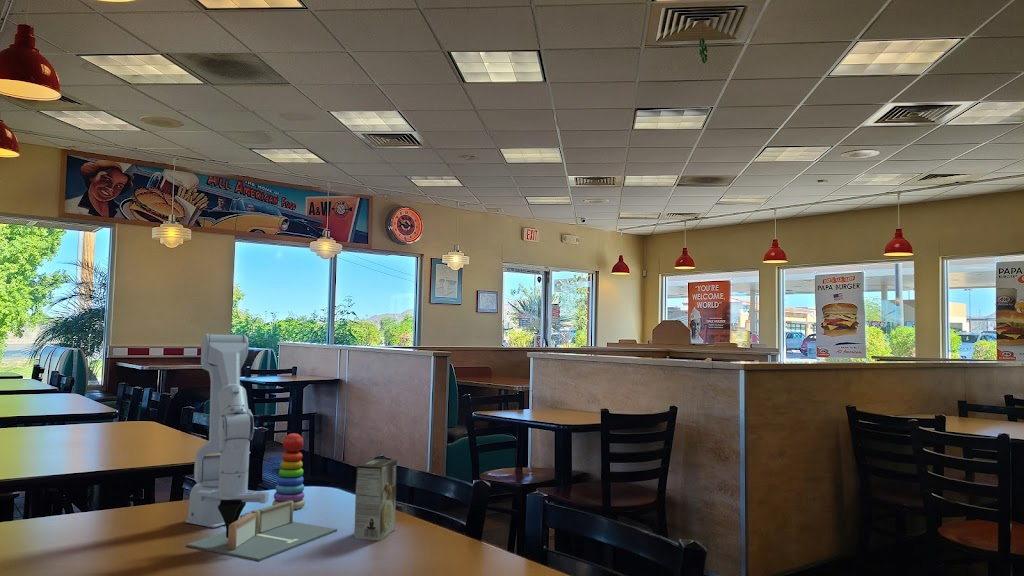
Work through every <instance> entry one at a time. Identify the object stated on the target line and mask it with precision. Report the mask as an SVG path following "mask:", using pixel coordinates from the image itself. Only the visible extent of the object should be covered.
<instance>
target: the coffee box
mask: <svg viewBox="0 0 1024 576" xmlns="http://www.w3.org/2000/svg"><path fill="white" fill-rule="evenodd" d="M397 463H398V460H397V459H383V458H382V459H381V458H370V459H369V460H366V461H365V462H362V463H360V464H358V465H356V469H355V470H356V472H355V499H354V500H355V502H354V503H355V507H354V533H353V534H354V539H358V540H366V541H367V540H369V541H378V542H380V541H381V540H383V539H385V538H386V537H387V536H388V535H390V534H391V533H392V532H393V531H395V530H396V515H397V513H396V507H397V503H396V502H397V501H396V500H397V475H398V474H397V473H398V472H397V471H398V470H397V468H398V467H397V466H398V464H397Z"/></svg>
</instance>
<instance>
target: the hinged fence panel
mask: <svg viewBox="0 0 1024 576" xmlns="http://www.w3.org/2000/svg"><path fill="white" fill-rule="evenodd" d="M256 517H257V513H251V512H249V513H247V514H245V515H244V516H242V517H239V518H240V519H239V520H237V521H235V522H233V523H232V524H230V525H229V532H228V549H229V550H232V549H236V547H238V546H239V545H241V544H242V543H244V542H245V541H247V540H248V539H250V538H251V537H253V536H254V535H255V520H256Z"/></svg>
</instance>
